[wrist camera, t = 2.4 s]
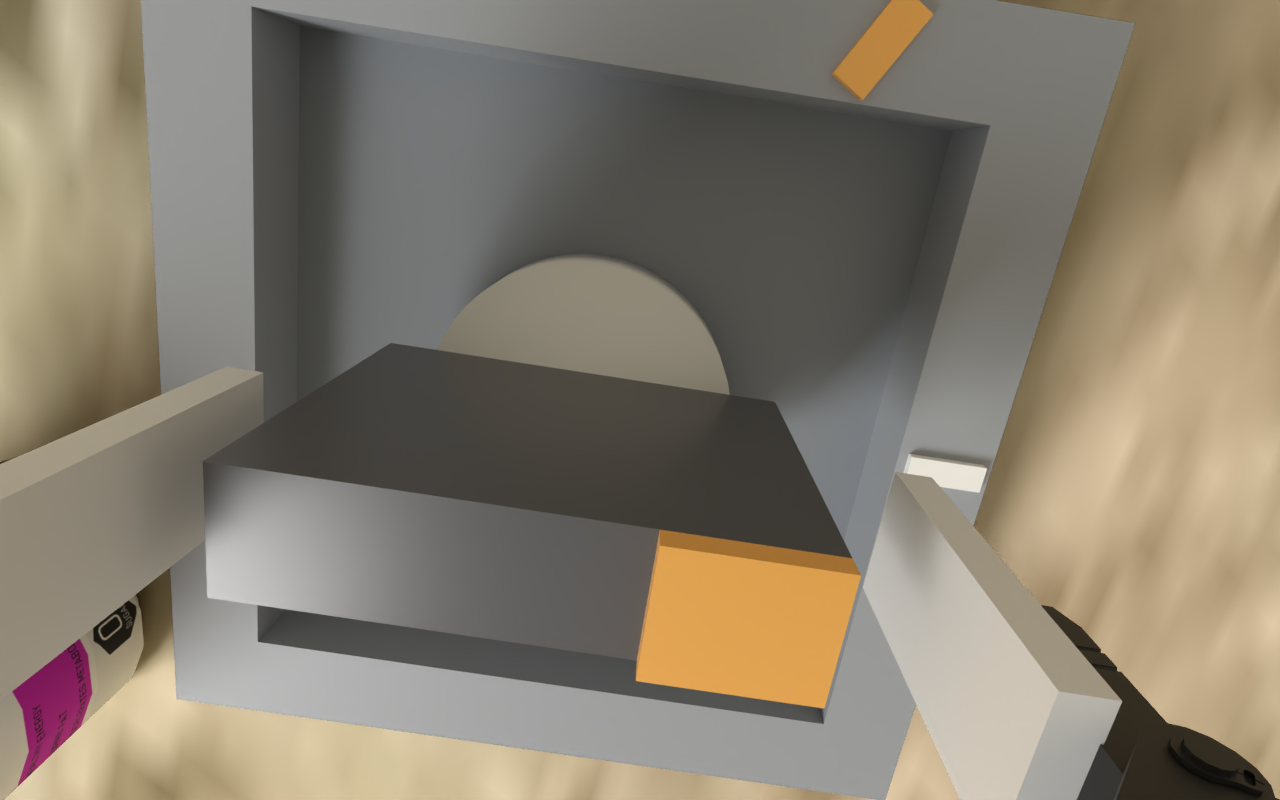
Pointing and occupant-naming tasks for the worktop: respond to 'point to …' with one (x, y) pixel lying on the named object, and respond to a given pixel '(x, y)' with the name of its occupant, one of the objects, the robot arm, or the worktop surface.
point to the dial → (549, 493)
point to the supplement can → (67, 693)
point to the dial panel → (639, 233)
